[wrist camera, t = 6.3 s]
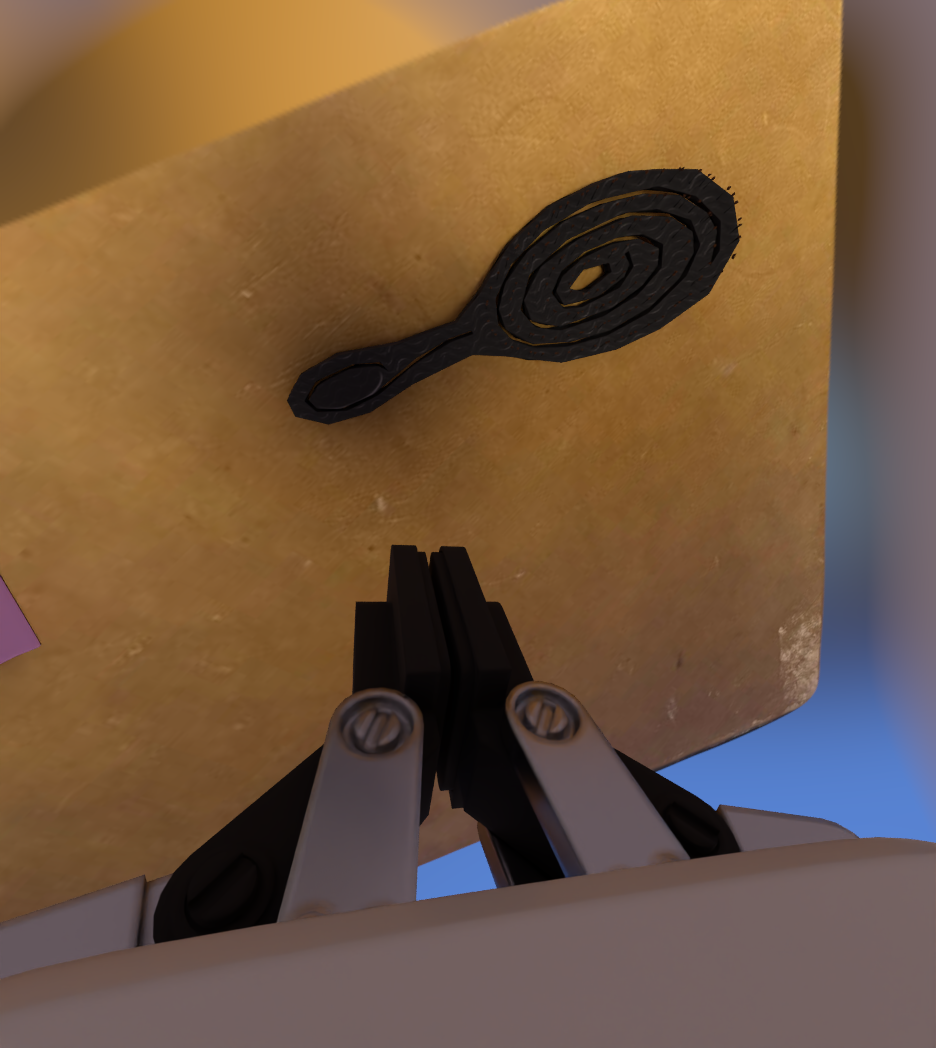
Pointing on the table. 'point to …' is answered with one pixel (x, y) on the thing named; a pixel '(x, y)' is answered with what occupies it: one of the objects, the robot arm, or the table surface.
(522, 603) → the table surface
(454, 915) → the robot arm
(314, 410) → the hairbrush
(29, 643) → the chair
